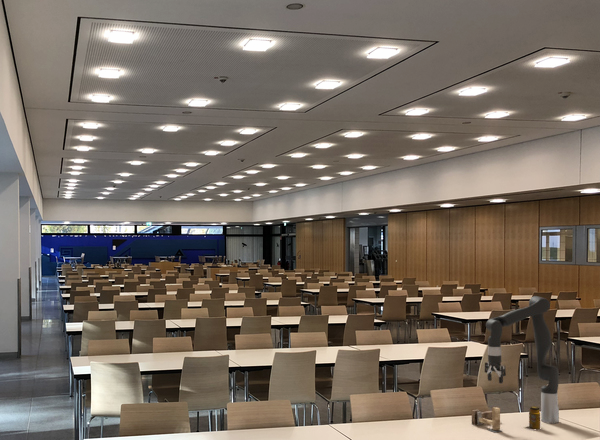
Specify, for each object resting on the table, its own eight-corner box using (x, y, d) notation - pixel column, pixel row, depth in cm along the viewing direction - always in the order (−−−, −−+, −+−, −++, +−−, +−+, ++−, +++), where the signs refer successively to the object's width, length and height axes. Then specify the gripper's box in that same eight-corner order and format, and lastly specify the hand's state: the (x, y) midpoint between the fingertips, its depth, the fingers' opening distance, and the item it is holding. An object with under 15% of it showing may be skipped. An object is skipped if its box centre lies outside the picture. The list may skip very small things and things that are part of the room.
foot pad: (494, 428, 360) (494, 428, 360) (502, 431, 355) (502, 431, 355) (487, 430, 358) (487, 429, 358) (494, 432, 352) (494, 432, 352)
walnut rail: (494, 420, 378) (494, 406, 379) (497, 421, 376) (497, 407, 377) (471, 424, 370) (471, 410, 370) (474, 425, 368) (474, 411, 368)
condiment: (543, 428, 362) (543, 407, 362) (534, 431, 357) (534, 409, 357) (532, 425, 368) (532, 404, 368) (523, 427, 363) (523, 406, 364)
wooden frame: (500, 429, 357) (500, 408, 357) (496, 430, 355) (496, 408, 356) (479, 423, 369) (479, 402, 369) (476, 424, 367) (476, 403, 368)
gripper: (508, 355, 365) (509, 383, 364) (490, 351, 377) (490, 378, 377) (499, 356, 361) (499, 385, 361) (480, 352, 374) (481, 380, 373)
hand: (495, 381), depth 369 cm, fingers open, 8 cm apart
